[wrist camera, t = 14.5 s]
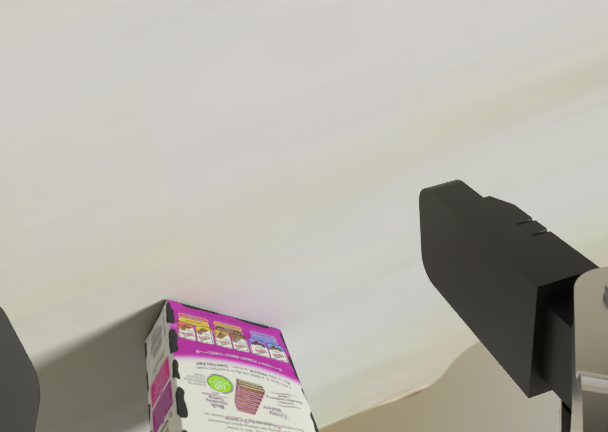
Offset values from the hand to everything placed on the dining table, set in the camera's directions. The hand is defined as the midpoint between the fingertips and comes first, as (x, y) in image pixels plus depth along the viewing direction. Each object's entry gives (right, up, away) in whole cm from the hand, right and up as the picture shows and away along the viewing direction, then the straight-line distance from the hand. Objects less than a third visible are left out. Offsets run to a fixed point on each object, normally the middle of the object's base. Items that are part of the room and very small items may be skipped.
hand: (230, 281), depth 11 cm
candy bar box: (-6, -9, +38) cm, 40 cm away
